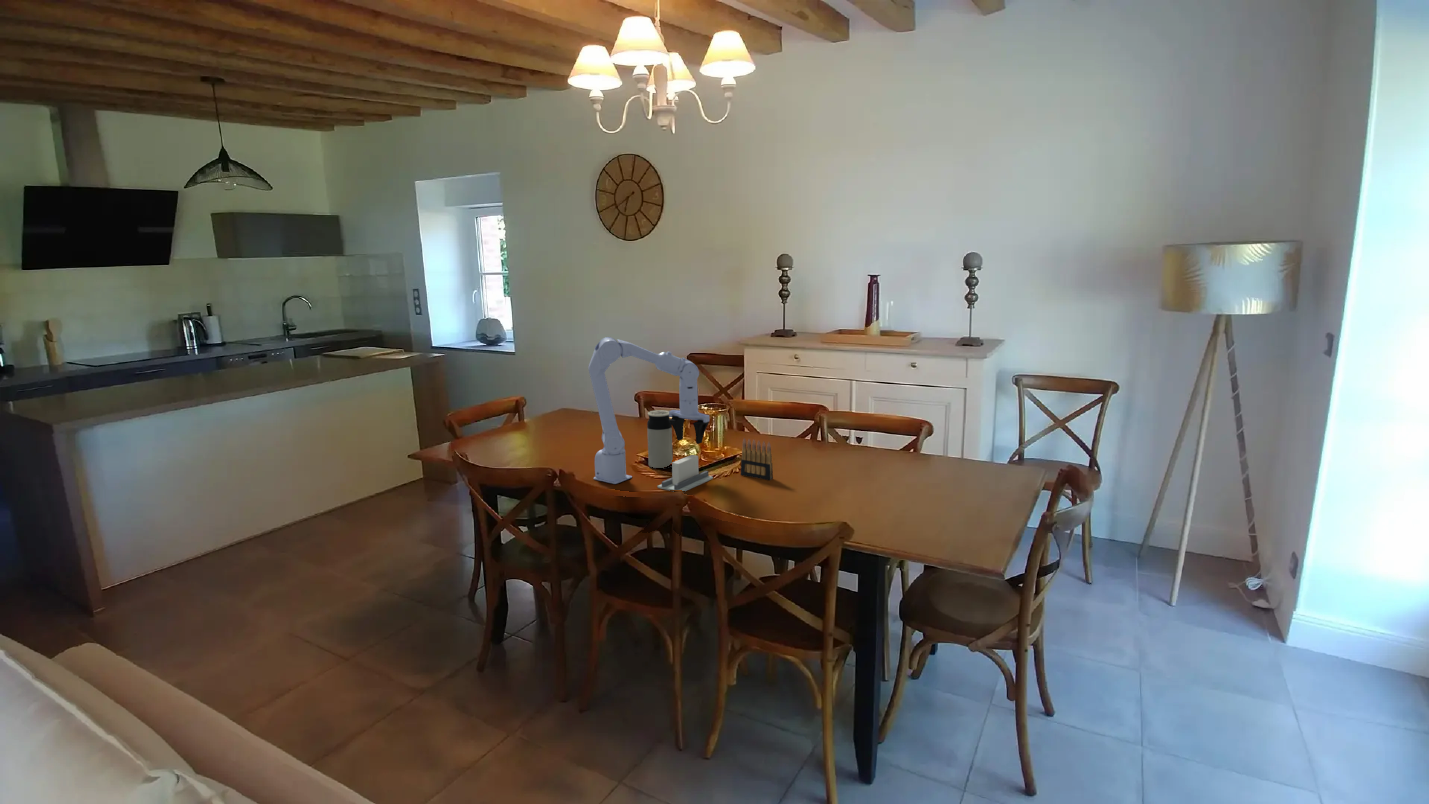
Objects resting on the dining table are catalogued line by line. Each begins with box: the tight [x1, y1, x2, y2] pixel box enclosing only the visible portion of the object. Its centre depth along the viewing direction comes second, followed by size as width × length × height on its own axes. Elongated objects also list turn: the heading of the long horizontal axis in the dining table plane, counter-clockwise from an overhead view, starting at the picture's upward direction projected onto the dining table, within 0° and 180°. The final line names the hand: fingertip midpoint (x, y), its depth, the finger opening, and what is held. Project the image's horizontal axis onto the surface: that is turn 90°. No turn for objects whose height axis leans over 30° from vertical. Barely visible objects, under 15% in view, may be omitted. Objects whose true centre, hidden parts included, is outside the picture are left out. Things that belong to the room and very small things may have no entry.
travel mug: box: [646, 409, 674, 469], centre depth 239 cm, size 8×8×18 cm
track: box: [657, 470, 714, 492], centre depth 223 cm, size 9×16×2 cm, turn 145°
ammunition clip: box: [740, 437, 774, 481], centre depth 227 cm, size 11×2×12 cm, turn 56°
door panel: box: [671, 454, 700, 485], centre depth 222 cm, size 2×10×7 cm, turn 145°
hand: (689, 441), depth 231 cm, fingers open, 7 cm apart
